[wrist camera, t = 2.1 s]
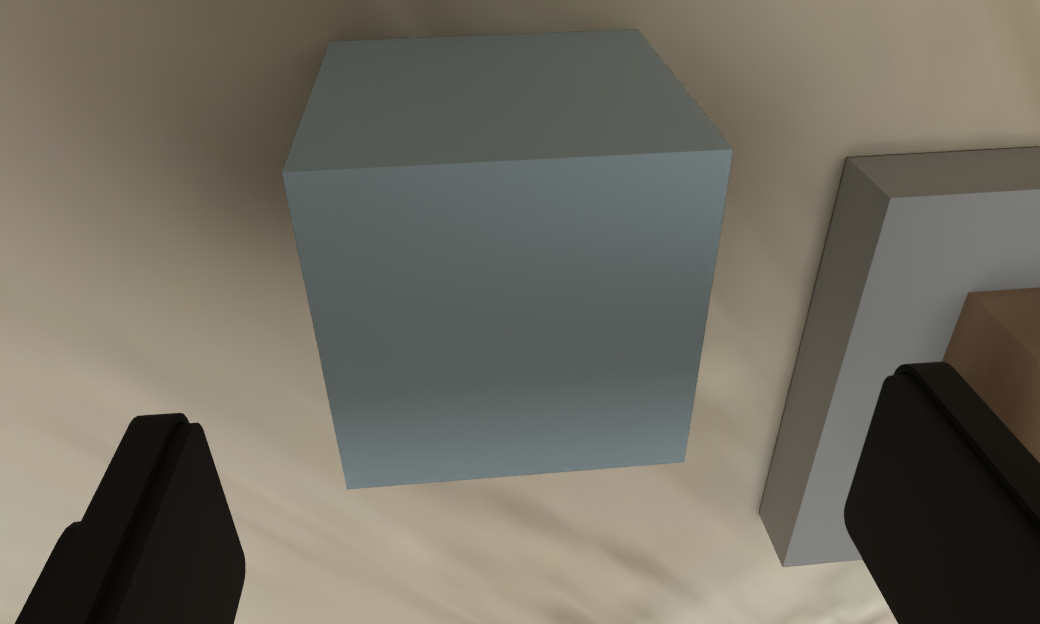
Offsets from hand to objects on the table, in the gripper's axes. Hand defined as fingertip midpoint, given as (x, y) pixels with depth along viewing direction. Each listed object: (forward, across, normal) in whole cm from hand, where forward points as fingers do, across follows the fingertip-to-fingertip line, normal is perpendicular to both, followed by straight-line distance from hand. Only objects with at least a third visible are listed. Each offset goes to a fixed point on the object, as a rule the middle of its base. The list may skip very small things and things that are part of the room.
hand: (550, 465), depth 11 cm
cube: (+8, 0, -1) cm, 8 cm away
